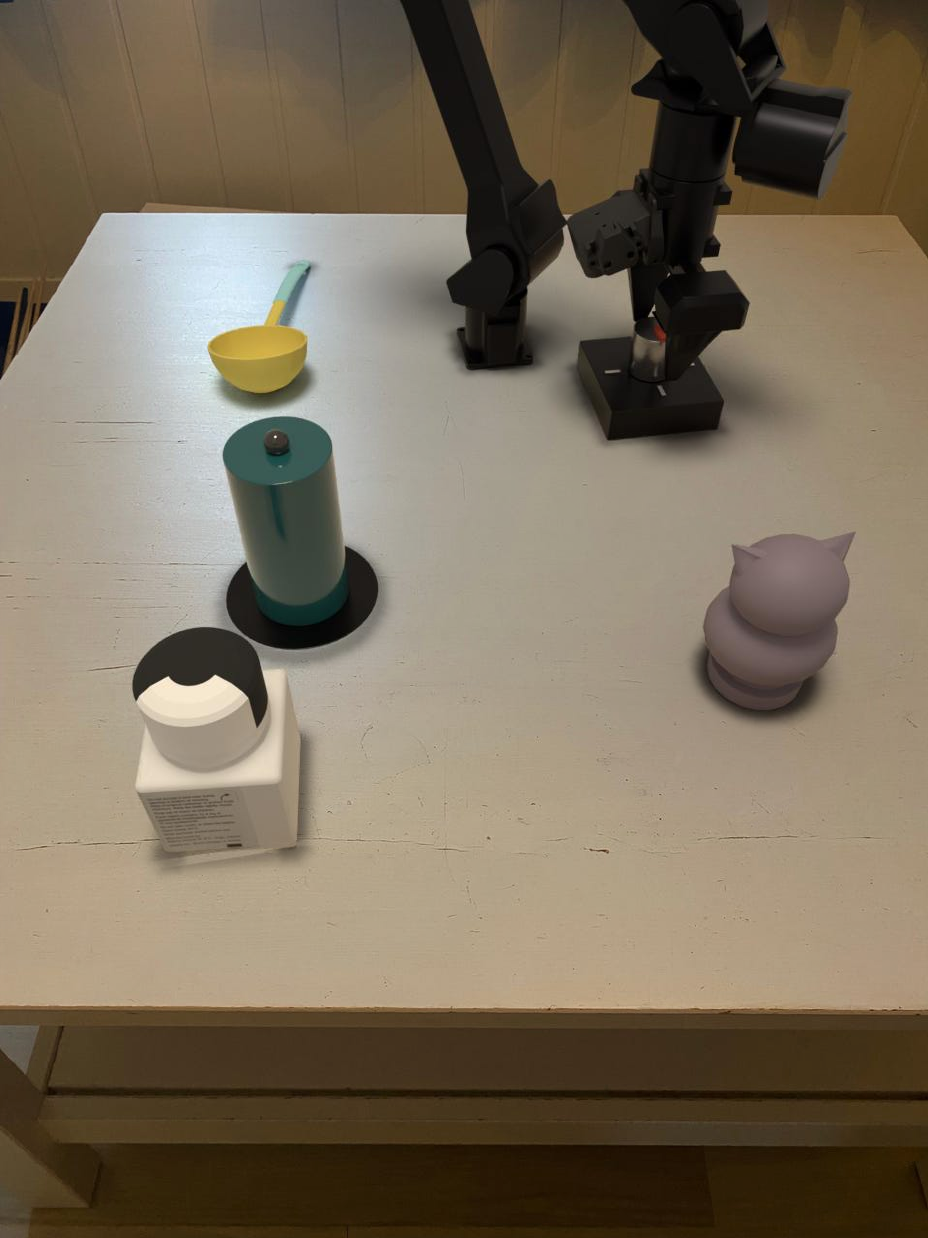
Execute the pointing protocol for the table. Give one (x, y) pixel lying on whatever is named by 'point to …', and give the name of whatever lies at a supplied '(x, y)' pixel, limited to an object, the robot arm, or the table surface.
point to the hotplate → (309, 636)
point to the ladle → (263, 347)
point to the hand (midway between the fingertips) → (654, 349)
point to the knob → (647, 351)
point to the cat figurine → (776, 618)
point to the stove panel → (645, 394)
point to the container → (216, 744)
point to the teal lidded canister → (289, 518)
